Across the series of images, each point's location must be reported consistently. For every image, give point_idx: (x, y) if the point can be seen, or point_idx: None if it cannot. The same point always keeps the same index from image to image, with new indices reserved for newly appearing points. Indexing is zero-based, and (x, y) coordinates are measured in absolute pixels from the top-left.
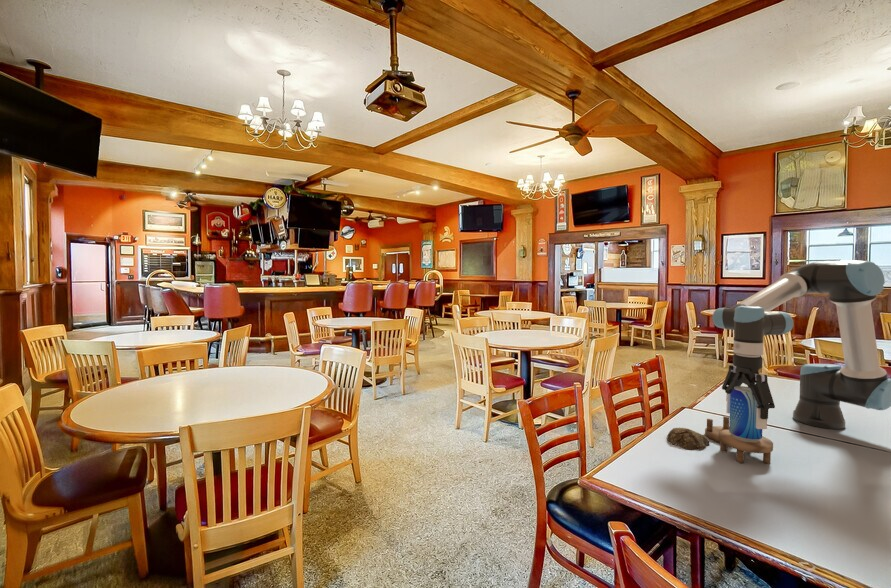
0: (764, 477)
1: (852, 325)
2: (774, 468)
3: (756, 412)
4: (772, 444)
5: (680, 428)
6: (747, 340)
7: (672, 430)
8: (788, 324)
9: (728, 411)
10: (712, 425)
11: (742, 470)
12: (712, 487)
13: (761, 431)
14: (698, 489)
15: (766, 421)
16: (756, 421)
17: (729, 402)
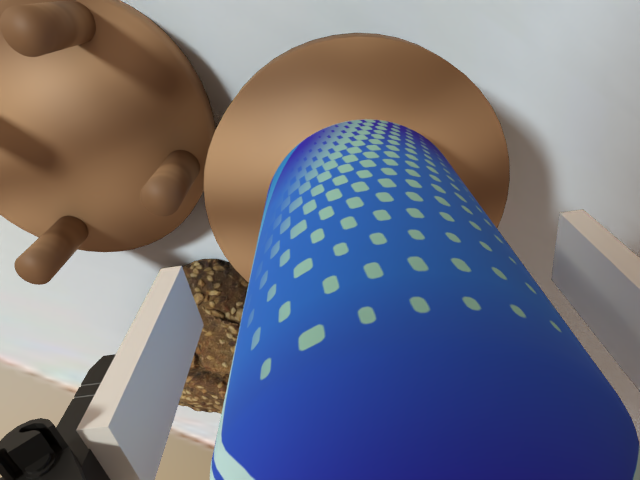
0: (577, 178)
1: None
2: (485, 72)
3: (636, 383)
4: (457, 72)
5: (190, 396)
6: None
7: (199, 410)
8: None
9: (197, 332)
10: (60, 238)
11: (507, 237)
12: (628, 379)
13: (452, 169)
14: (633, 414)
15: (624, 251)
16: (587, 316)
17: (173, 396)
